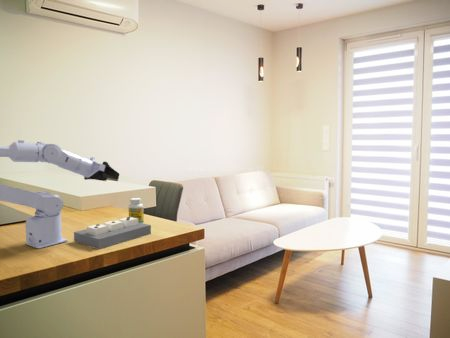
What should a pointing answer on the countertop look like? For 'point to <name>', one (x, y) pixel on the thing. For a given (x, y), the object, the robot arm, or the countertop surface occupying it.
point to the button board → (112, 236)
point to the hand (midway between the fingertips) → (112, 177)
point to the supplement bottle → (136, 209)
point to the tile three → (129, 221)
